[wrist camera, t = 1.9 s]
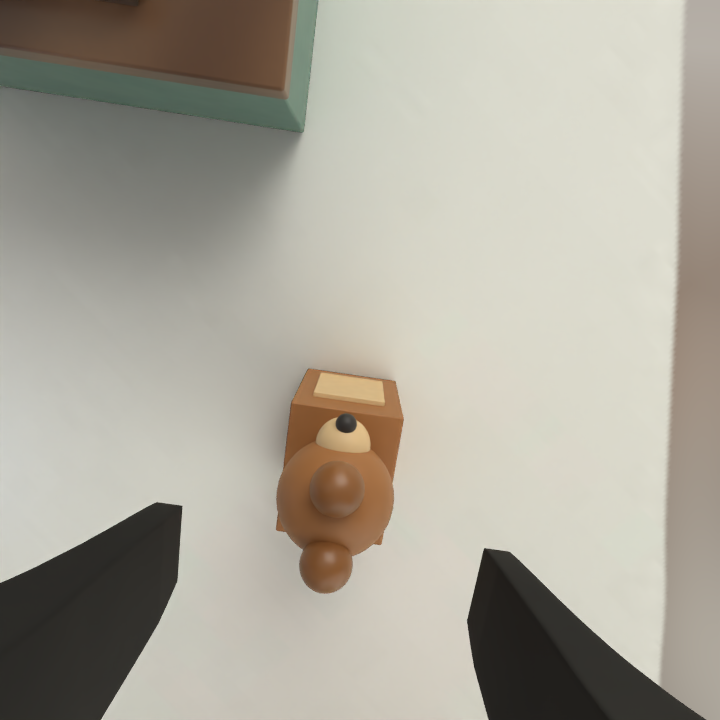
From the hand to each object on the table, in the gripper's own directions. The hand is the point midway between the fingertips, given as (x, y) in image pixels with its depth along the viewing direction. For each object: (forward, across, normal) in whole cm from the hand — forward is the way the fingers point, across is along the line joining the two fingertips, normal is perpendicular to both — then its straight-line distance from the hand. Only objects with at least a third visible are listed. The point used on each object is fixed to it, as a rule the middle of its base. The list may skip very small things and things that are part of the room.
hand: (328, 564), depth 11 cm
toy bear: (+9, 0, 0) cm, 9 cm away
